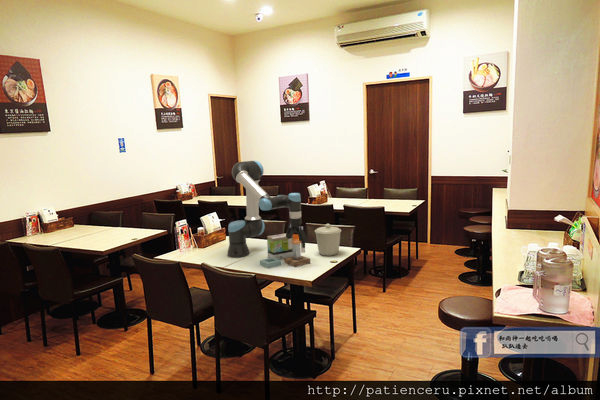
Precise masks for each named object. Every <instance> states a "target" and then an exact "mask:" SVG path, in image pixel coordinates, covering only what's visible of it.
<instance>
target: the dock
mask: <svg viewBox="0 0 600 400" xmlns="http://www.w3.org/2000/svg"><path fill="white" fill-rule="evenodd" d="M283 262H284V264H286V265H290V266H291V267H293V268H297V267H301V266H305V265H308V264H311V258H310V257H306V256H304V255H301V259H299V260H294V259H293V256H292V257H287V258H283Z"/></svg>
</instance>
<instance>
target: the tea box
mask: <svg viewBox="0 0 600 400" xmlns="http://www.w3.org/2000/svg"><path fill="white" fill-rule="evenodd" d="M286 233H287V232H286ZM286 233H280V234H274V235H268V236H266V237H267V238H266V239H267V240H266V241H267V243H266V245H267V247H266V248H267V258H272V257H273V258H276V259H279V260H281V259H282V260H283V259H284V258H287V257H292V256H293V248H291V249H289V246H288V238H287V237H286ZM292 241H294V235H293V236H292Z"/></svg>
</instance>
